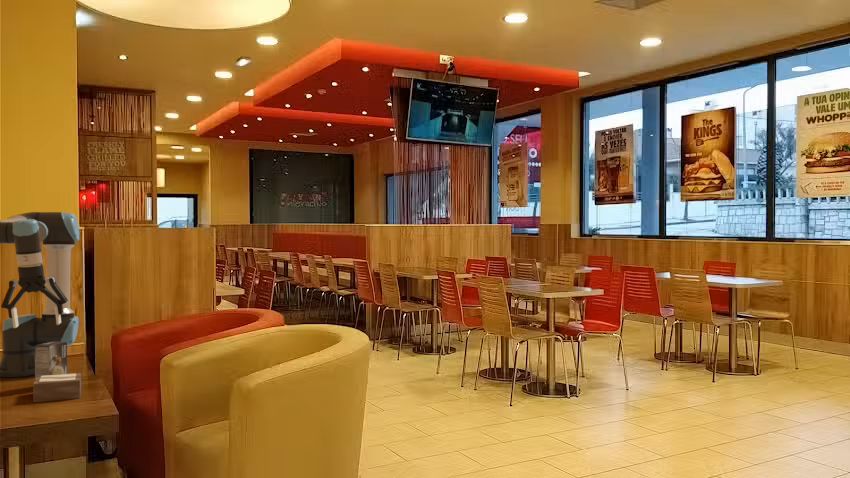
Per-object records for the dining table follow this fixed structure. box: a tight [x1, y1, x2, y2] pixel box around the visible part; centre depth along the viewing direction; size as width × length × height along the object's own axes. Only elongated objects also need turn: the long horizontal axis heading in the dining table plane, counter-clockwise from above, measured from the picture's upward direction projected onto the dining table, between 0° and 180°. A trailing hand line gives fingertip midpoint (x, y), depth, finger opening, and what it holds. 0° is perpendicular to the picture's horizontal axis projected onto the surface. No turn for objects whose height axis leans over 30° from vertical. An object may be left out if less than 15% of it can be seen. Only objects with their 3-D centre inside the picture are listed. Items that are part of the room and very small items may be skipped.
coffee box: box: [34, 341, 68, 380], centre depth 253 cm, size 9×6×16 cm
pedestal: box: [32, 372, 82, 403], centre depth 240 cm, size 14×14×6 cm
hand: (37, 325), depth 238 cm, fingers open, 13 cm apart
